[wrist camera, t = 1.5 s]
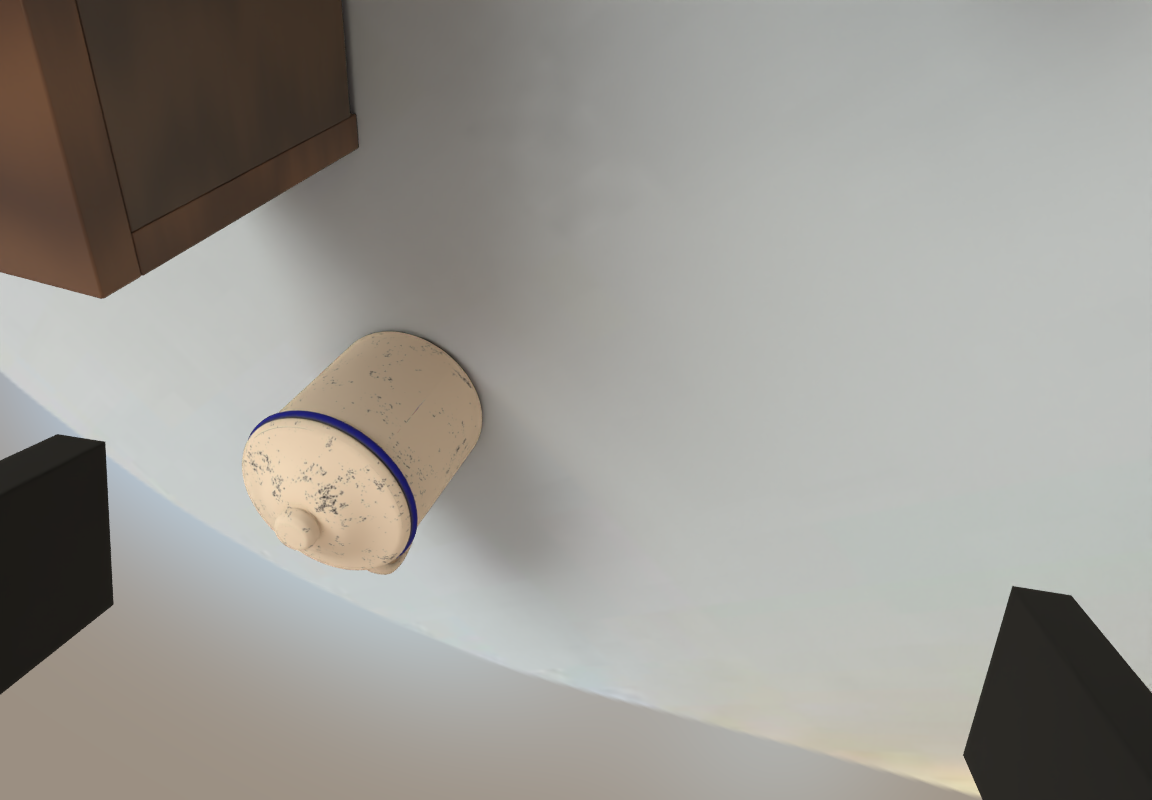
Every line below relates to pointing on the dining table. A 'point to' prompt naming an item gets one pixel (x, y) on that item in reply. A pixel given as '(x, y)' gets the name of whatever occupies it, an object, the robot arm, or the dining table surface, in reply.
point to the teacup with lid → (364, 452)
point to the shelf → (157, 126)
